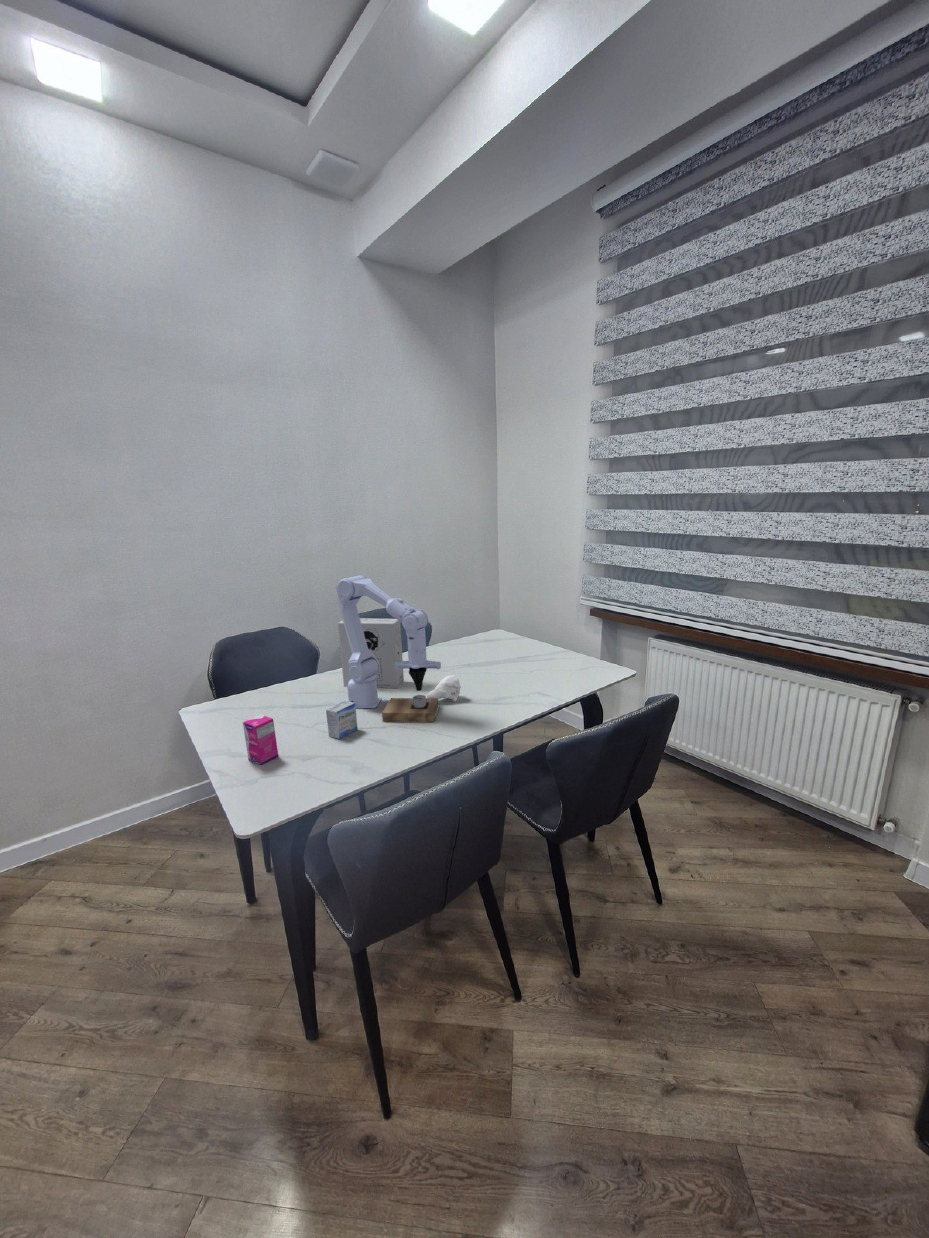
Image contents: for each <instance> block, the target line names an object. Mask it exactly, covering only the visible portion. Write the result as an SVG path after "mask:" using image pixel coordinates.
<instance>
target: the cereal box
mask: <svg viewBox="0 0 929 1238" xmlns="http://www.w3.org/2000/svg"><path fill="white" fill-rule="evenodd" d="M359 618H360V621H361V625H362V628H363V632H364V636H365V639H366V643H367V646H368V650H370V651H372V652H373V653H374V654H375V657H376V659H377V660H378V662H379V664H380V670H379V672H378V673H377V677H376V682H377V689H378V688H379V689H383V688H384V689H399V688H400V686H401V685H402V684H403V683H404V682H405V677H404V676H405V675H404V669H395V662H400V661H404V660H403V647H402V646H403V645H402V643H403V642H402V630H401V622H400V621H398V620H397V619H396V618H373V617H372V618H371V617H370V618H367V617H366V618H363V617H359ZM337 626H338V636H339V647H340V658H341V659H340V660H341V668H342V679H343V680H342V683H343V687H348V683H349V681H350V679H352V678H351V677H350V674H349V663H348V662H349V660H350V658H351V656H352V651H351V647H350V644H349V640H348V637H347V633H346V630H345V626H344V623H343V619H342V620H340V621H338V622H337Z"/></svg>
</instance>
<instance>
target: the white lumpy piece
mask: <svg viewBox="0 0 929 1238" xmlns="http://www.w3.org/2000/svg"><path fill="white" fill-rule="evenodd" d="M461 687H462V686H461V684H460V680H459V678H458V677H456V675H453V674H451V675H450V674H449V675H447V676H444V677H443V678H442V679H441V680H440V681H439V683H438V684H437V685H436V687H435V688H434V689H432V690H431V691H429V692H428V693H427V695H426V698H438V700H440V699H451V700H452V702H454V703H455V702H457V699H458V698H459V696H460V692H461Z"/></svg>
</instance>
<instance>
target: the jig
mask: <svg viewBox="0 0 929 1238" xmlns="http://www.w3.org/2000/svg"><path fill="white" fill-rule="evenodd" d="M426 708H427V709H413V697H411V698H410V697H408V698H407V697H400V698H399V697H391V698H390V699H389V700H388V703H387V704H386V706H385V708H384V709H383V710H382V712H381V719H382V723H386V722H388V723H392V722H393V723H397V722H398V723H433V722H434V720H435V717H436V715H437V712H438V710H439V699H438V698H427V697H426Z"/></svg>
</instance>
